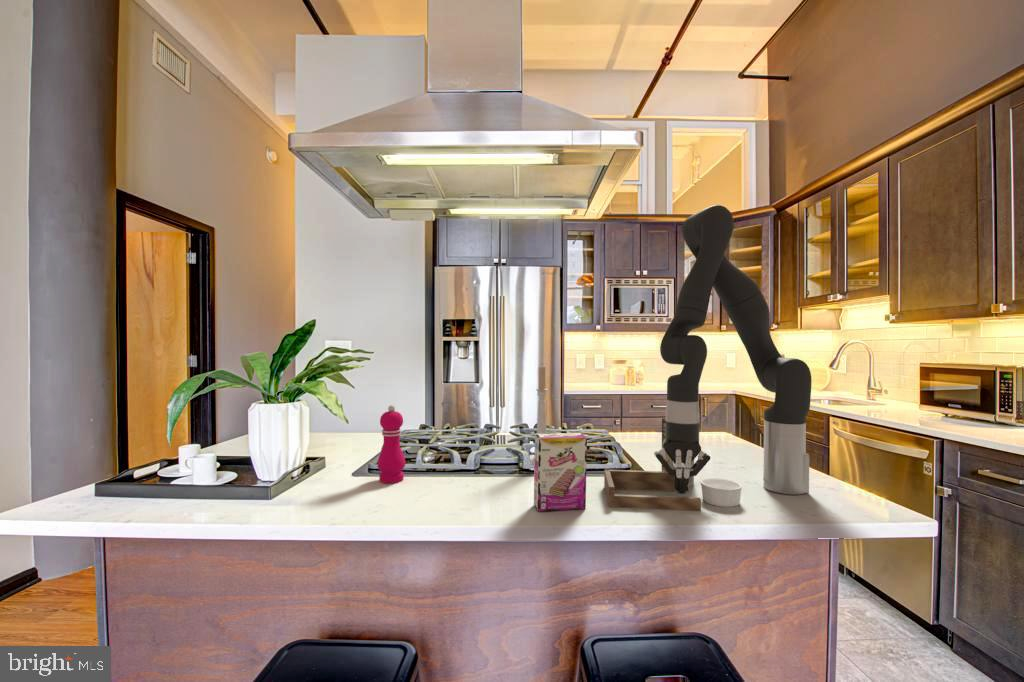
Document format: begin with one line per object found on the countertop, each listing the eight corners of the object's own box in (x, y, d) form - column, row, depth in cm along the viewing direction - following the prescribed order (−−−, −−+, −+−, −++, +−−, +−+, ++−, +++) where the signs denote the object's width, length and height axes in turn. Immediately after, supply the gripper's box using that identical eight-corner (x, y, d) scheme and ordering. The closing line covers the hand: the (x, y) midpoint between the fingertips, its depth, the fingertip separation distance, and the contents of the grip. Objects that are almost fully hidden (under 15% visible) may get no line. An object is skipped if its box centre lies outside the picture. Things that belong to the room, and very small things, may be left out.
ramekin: (692, 497, 116) (692, 479, 116) (724, 494, 118) (724, 476, 118) (717, 510, 107) (717, 490, 107) (750, 506, 110) (750, 487, 109)
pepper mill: (411, 478, 130) (411, 404, 129) (391, 485, 124) (391, 408, 123) (392, 474, 133) (392, 402, 133) (371, 481, 127) (371, 405, 127)
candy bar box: (538, 513, 105) (538, 437, 105) (533, 505, 110) (533, 433, 110) (587, 510, 107) (587, 436, 107) (580, 502, 112) (580, 431, 112)
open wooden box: (685, 490, 121) (685, 472, 121) (700, 510, 107) (701, 490, 106) (604, 486, 123) (604, 469, 123) (608, 506, 109) (609, 486, 109)
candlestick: (524, 459, 150) (524, 363, 150) (565, 461, 148) (565, 364, 148) (516, 470, 138) (516, 366, 138) (561, 473, 135) (561, 366, 135)
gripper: (706, 417, 117) (705, 489, 117) (650, 416, 118) (649, 486, 118) (716, 423, 109) (715, 499, 109) (656, 421, 110) (655, 496, 111)
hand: (681, 492), depth 114 cm, fingers closed
